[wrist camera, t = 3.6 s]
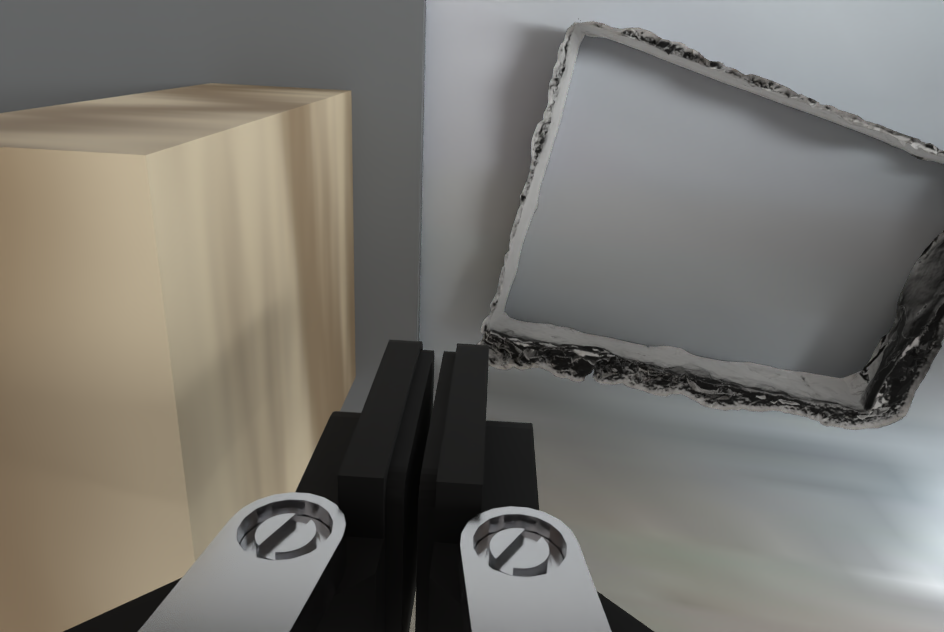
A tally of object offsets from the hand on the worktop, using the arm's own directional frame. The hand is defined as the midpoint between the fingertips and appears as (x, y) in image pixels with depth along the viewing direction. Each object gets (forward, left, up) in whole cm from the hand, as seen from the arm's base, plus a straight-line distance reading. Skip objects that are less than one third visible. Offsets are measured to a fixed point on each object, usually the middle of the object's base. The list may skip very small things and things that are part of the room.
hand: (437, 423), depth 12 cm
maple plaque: (+6, 0, -10) cm, 12 cm away
